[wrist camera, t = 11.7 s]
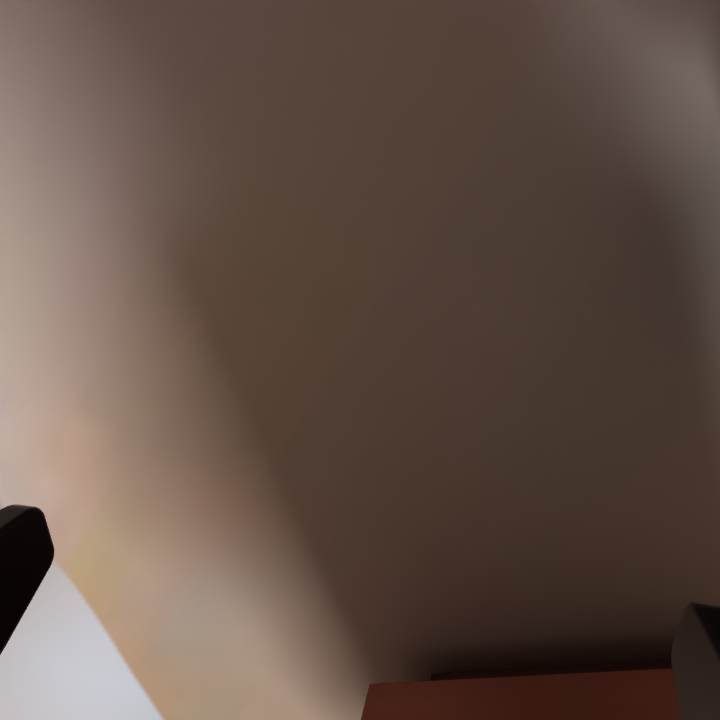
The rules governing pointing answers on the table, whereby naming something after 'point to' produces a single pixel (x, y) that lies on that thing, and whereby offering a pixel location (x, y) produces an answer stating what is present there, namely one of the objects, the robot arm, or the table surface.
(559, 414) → the table surface
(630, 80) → the table surface
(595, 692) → the potted plant
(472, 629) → the table surface
